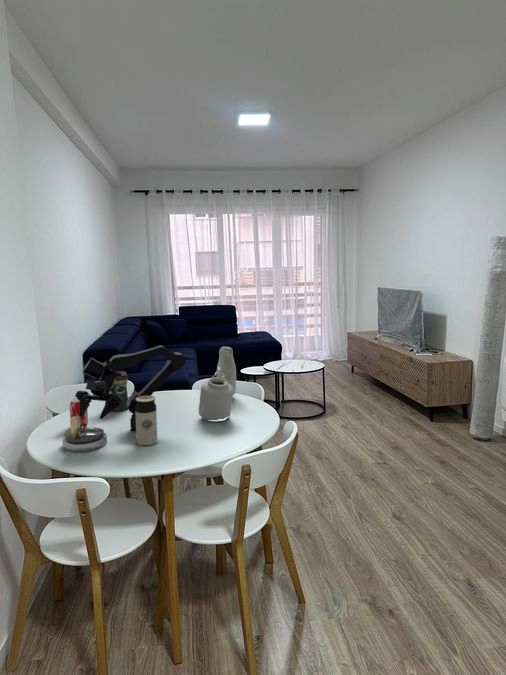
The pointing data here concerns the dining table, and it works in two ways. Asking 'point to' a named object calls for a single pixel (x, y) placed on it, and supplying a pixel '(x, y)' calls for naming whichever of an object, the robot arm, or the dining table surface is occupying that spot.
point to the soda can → (76, 410)
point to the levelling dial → (82, 433)
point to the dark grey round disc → (85, 445)
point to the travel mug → (146, 420)
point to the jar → (215, 399)
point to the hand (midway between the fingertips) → (90, 417)
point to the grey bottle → (227, 367)
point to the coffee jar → (121, 390)
